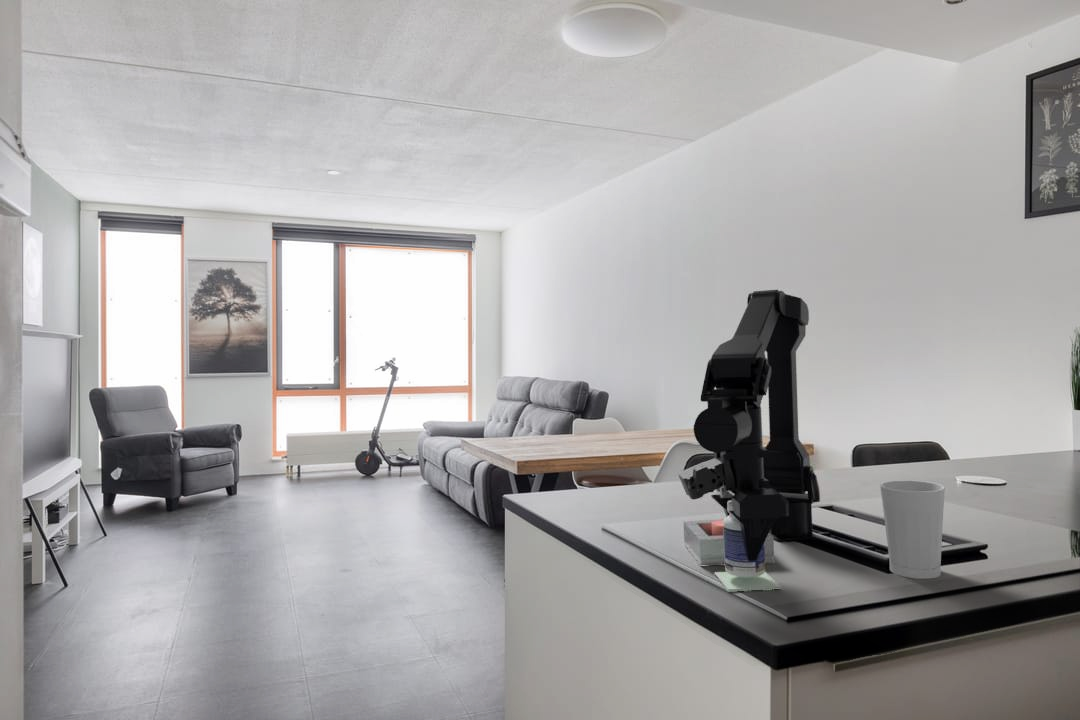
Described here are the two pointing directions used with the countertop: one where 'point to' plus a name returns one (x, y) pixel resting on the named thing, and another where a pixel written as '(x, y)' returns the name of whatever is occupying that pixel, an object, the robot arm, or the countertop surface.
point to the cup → (913, 527)
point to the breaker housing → (713, 543)
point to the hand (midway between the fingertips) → (745, 553)
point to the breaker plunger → (717, 528)
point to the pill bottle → (739, 550)
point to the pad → (746, 582)
